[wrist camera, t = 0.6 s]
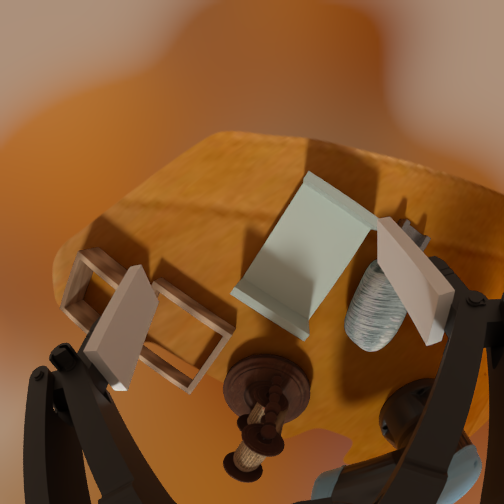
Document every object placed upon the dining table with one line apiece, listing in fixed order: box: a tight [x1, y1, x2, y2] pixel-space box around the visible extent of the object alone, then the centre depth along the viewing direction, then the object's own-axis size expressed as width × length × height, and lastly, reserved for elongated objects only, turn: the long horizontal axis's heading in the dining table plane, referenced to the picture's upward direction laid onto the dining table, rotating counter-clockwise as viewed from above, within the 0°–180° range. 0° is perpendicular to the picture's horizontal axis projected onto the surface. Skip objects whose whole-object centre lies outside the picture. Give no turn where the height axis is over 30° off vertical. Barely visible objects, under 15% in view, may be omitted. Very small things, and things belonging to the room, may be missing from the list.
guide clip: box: [397, 219, 431, 252], centre depth 40 cm, size 5×3×3 cm, turn 58°
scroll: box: [223, 354, 310, 483], centre depth 38 cm, size 15×15×20 cm
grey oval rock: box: [344, 260, 407, 352], centre depth 40 cm, size 14×10×10 cm
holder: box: [230, 171, 379, 341], centre depth 41 cm, size 12×19×7 cm, turn 148°
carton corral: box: [60, 247, 128, 334], centre depth 48 cm, size 13×13×6 cm
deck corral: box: [138, 277, 236, 394], centre depth 48 cm, size 15×15×3 cm
